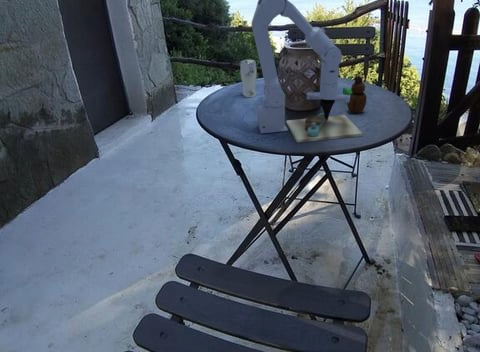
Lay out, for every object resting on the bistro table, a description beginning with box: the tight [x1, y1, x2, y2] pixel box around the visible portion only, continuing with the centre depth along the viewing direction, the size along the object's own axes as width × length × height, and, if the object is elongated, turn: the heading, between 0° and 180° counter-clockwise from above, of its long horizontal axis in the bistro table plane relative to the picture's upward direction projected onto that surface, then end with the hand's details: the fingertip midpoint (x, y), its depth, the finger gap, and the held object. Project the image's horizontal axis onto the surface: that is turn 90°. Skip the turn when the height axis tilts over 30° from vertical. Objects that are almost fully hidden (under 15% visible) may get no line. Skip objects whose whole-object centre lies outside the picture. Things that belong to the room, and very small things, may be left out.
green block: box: [342, 87, 353, 95], centre depth 150 cm, size 11×4×5 cm, turn 4°
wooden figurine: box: [346, 73, 367, 114], centre depth 137 cm, size 7×6×15 cm
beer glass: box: [239, 59, 257, 98], centre depth 162 cm, size 7×7×15 cm
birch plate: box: [285, 114, 363, 143], centre depth 129 cm, size 22×17×1 cm
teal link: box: [308, 112, 325, 136], centre depth 127 cm, size 16×4×4 cm, turn 157°
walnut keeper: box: [305, 115, 324, 131], centre depth 126 cm, size 4×5×4 cm
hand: (326, 119), depth 132 cm, fingers closed
